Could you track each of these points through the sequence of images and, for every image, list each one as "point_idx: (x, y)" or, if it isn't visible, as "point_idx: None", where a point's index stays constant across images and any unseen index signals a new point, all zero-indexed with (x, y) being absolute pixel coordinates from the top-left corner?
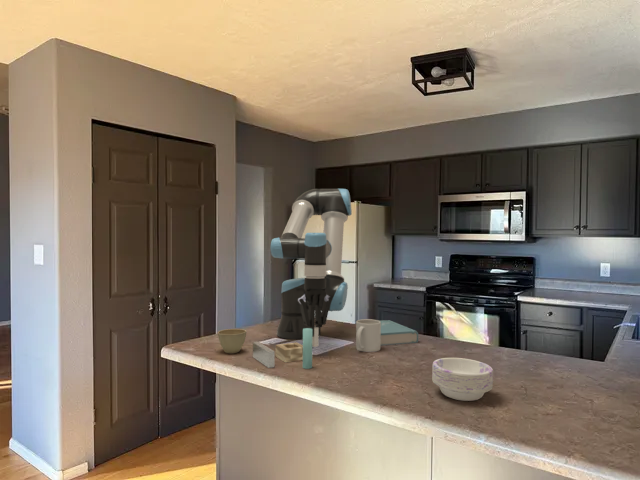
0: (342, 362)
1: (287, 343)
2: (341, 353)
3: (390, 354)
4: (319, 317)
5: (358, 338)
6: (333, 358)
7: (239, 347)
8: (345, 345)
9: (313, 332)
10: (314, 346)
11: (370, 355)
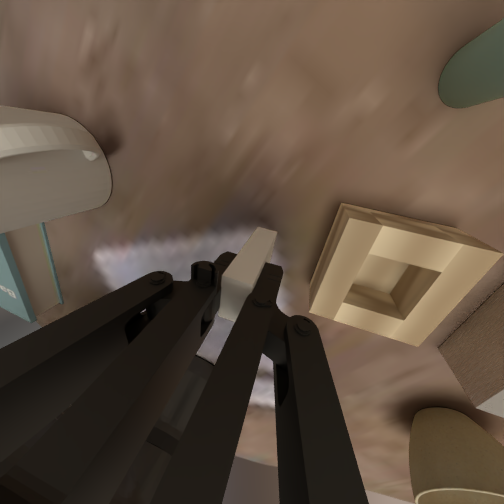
0: (251, 42)
1: (356, 325)
2: (178, 180)
3: (16, 29)
4: (166, 333)
5: (60, 130)
6: (243, 140)
7: (455, 423)
8: (126, 245)
9: (262, 275)
10: (276, 233)
11: (93, 74)
